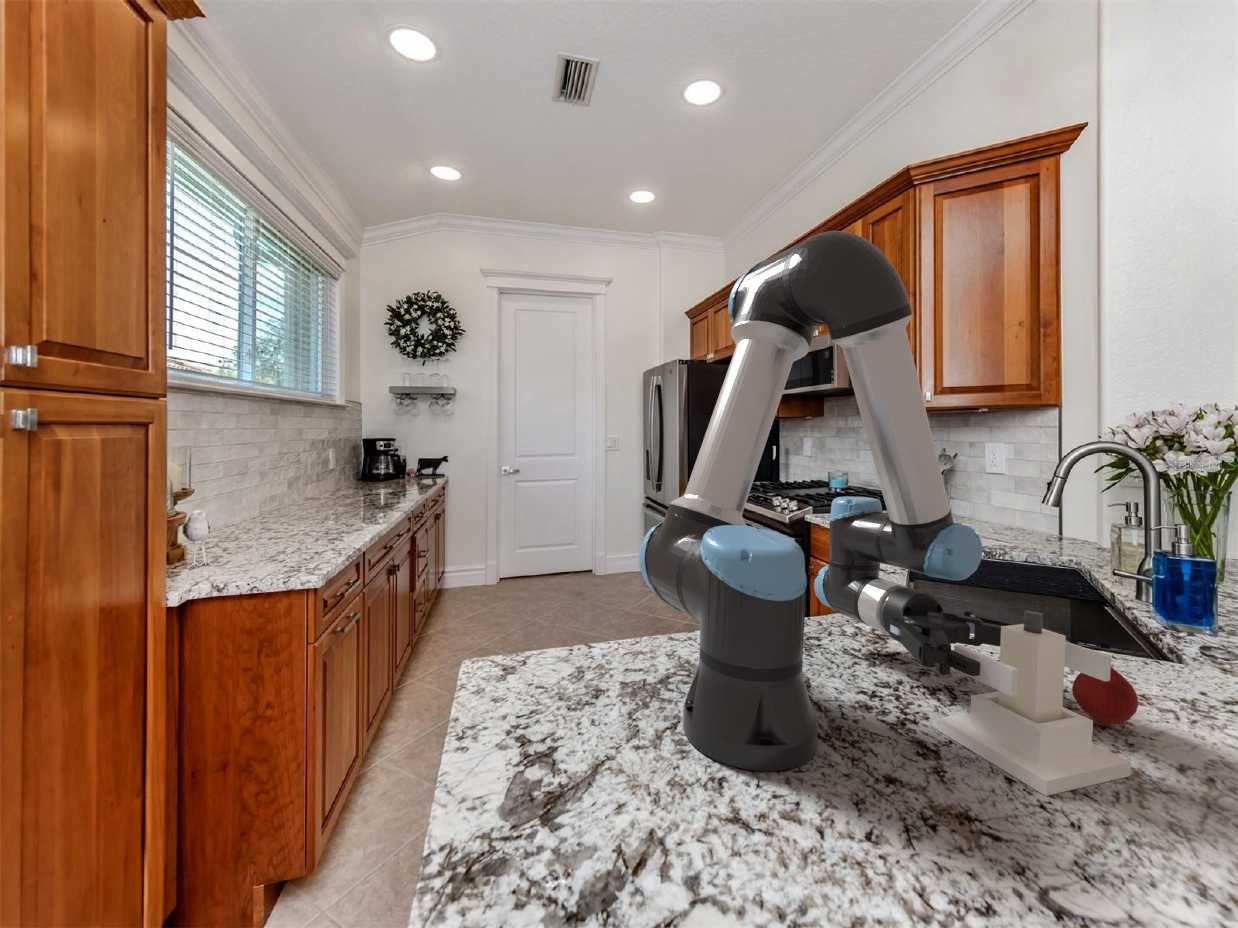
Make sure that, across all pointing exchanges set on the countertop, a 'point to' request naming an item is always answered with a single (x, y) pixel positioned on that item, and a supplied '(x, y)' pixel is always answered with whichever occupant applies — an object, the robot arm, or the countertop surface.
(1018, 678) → the plug
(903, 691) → the countertop surface
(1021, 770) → the socket
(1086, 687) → the onion
